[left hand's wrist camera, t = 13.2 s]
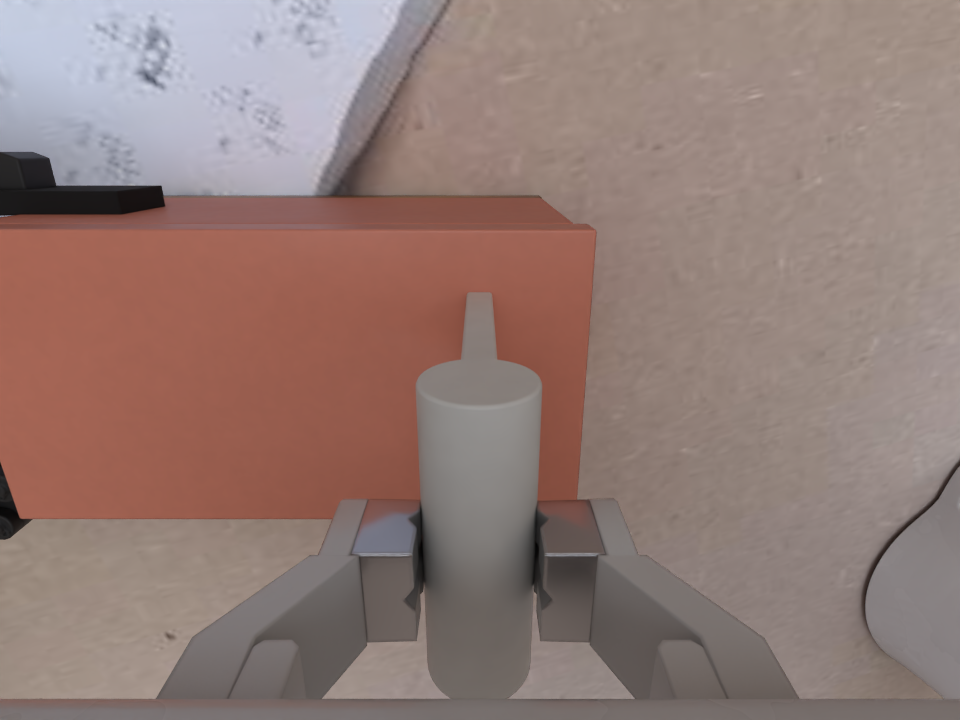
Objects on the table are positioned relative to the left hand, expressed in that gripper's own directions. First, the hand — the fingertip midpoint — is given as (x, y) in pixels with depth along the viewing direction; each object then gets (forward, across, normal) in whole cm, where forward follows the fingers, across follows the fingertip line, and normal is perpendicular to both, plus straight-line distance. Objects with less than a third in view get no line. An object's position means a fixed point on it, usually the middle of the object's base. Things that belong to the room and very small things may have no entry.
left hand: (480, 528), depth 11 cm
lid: (+8, -6, 0) cm, 10 cm away
